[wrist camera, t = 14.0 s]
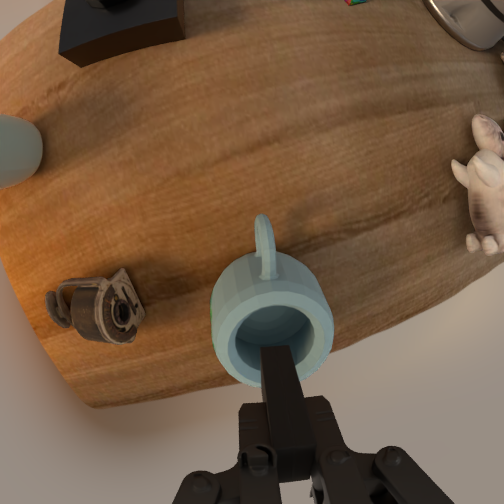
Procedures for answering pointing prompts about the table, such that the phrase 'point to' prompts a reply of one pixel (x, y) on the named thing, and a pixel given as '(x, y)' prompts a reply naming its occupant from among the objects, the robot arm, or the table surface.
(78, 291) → the grey machine part
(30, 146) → the cup
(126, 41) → the control block
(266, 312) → the mug
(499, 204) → the toy
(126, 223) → the table surface
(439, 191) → the table surface
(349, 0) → the block
